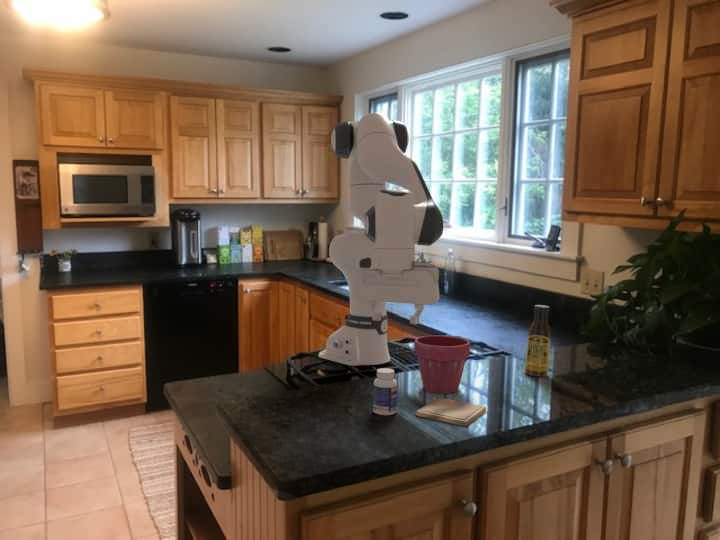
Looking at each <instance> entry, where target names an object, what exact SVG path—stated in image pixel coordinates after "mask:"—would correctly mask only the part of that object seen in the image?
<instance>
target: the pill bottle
mask: <svg viewBox="0 0 720 540" xmlns="http://www.w3.org/2000/svg"><path fill="white" fill-rule="evenodd" d="M376 377H377V378H375V379H374V381H373V388H372V391H373V397H372V410H373V413H375V414H377V415H378V416H379V415H380V416H392V415H394V414H395V413H396V412H397V407H398V406H397V404H398V401H397V400H398V381H397V380H396V379H395V378H394V377H395V370H394V369H392V368H388V367H386V368H385V367H384V368H383V367H382V368H378V369H376Z"/></svg>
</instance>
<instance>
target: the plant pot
mask: <svg viewBox="0 0 720 540" xmlns="http://www.w3.org/2000/svg"><path fill="white" fill-rule="evenodd" d="M470 349H471V342H470V341H469V340H468V339H466V338H462V337H459V336H458V337H457V336H452V335H451V336H449V335H437V334H434V335H432V334H431V335H422V336H417V337H416V338H415V339H414V348H413V352H414V355H415V356H416V357H417V361H418V367H419V372H420V377H421V382H422V388H423V389H424V390H425V391H427V392H430V393H434V394H452V393H451V392H454V393H456V392H458V391H459V387H460V386H461V384H460V383H461V381H462V376H463V373H464V368H465V364H466V360H467V358H469V357H470V354H471V353H470V352H471V351H470ZM457 390H458V391H457Z"/></svg>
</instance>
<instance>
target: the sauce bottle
mask: <svg viewBox="0 0 720 540" xmlns="http://www.w3.org/2000/svg"><path fill="white" fill-rule="evenodd" d="M533 308H534V309H533V310H534V316H533V317H534V318H533V321H532V323H530V325H529V328H528V336H527V344H526V354H525V366H524V367H525V370H524V372H525V374H526V375H529V376H531V377H539V378H540V377H541V378H544V377H546V376H547V375H548V371H549V361H550V360H549V359H550V351H551V335H552V328H551V327H550V324H549V313H550V306H548V305H544V304H535V305H534V307H533Z"/></svg>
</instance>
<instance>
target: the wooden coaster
mask: <svg viewBox="0 0 720 540" xmlns="http://www.w3.org/2000/svg"><path fill="white" fill-rule="evenodd" d="M485 412H487V406H484V405H479V404H475V403H474V404H473V403H468V402H464V401H463V402H462V401H458V400H454V399H448V398H444V397H443V398H442V397H437V398H436V399H434V400H432V401H431V402H429V403H427V404H426V405H424V406H422V407H421V408H419V409H417V410H416V412H415V415H416V416H418V417H422V418H426V419H430V420H435V421H439V422H445V423H449V424H452V425H458V426H462V427H467V426H469V425H470V424H471V423H473V422H474V421H475V420H476V419H478V418H479V417H481V416H482V415H483V414H485Z"/></svg>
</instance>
